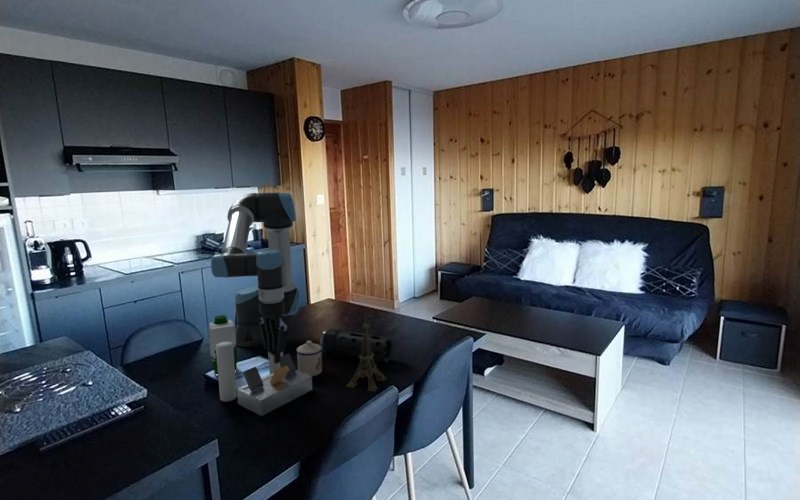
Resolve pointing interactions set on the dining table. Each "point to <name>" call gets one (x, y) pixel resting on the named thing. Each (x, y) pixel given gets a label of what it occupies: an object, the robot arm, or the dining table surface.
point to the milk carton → (221, 337)
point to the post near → (226, 371)
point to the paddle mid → (279, 375)
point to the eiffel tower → (366, 368)
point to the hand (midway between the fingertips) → (275, 371)
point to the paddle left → (253, 379)
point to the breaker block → (274, 392)
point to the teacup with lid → (309, 358)
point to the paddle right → (287, 363)
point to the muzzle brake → (355, 344)
